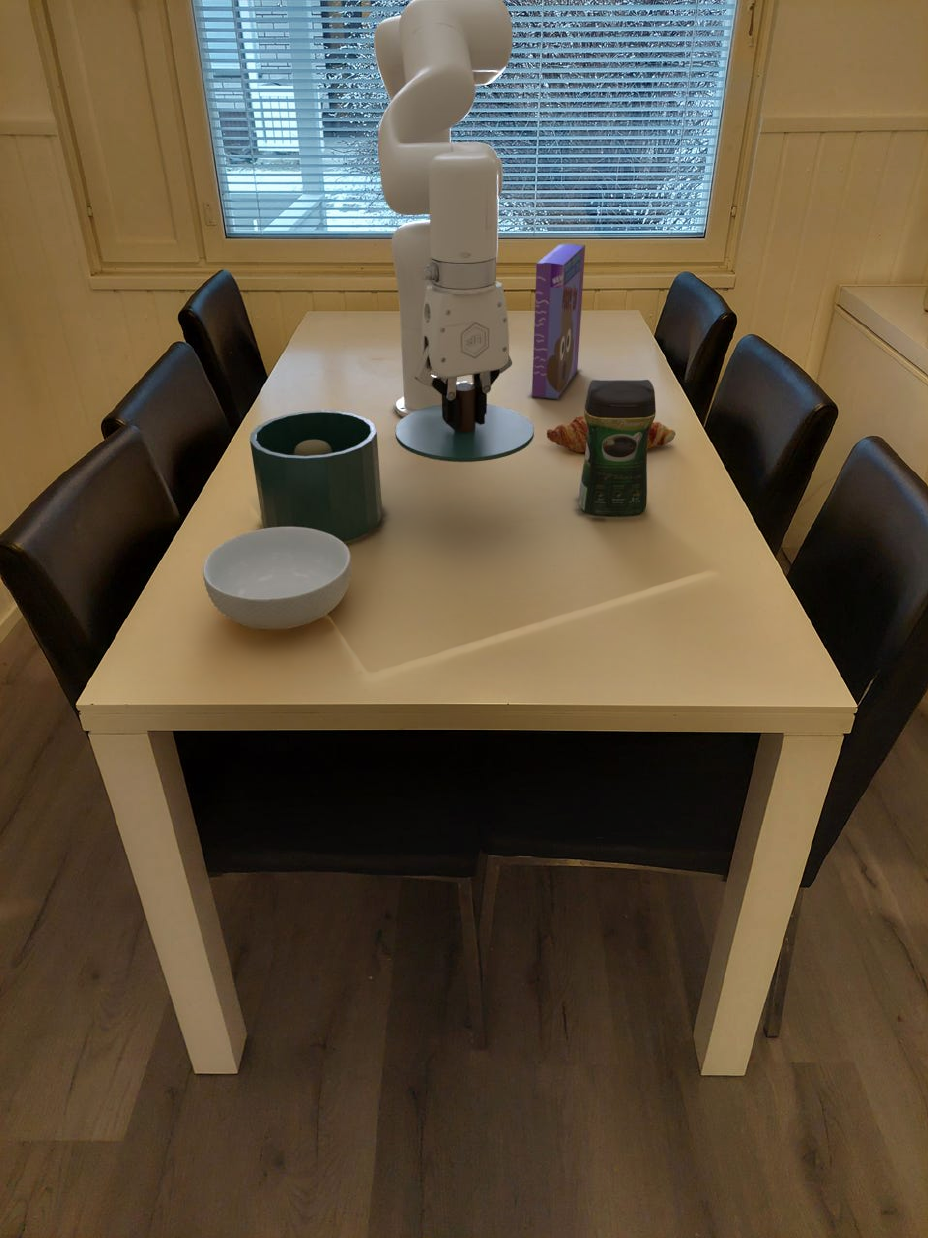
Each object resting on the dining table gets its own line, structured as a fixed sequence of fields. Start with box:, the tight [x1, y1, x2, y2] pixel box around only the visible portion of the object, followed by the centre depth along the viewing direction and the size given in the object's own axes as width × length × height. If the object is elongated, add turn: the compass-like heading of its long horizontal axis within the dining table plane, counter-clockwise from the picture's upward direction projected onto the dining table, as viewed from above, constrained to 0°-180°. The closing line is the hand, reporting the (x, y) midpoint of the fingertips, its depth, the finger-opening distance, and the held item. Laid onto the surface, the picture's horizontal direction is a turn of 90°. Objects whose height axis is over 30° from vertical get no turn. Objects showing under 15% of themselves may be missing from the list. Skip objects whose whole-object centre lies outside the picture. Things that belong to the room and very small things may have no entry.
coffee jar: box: [578, 379, 657, 518], centre depth 122 cm, size 10×8×19 cm
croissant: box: [546, 415, 677, 453], centre depth 144 cm, size 21×10×8 cm, turn 94°
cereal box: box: [531, 242, 586, 401], centre depth 165 cm, size 17×5×24 cm, turn 161°
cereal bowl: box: [202, 527, 352, 630], centre depth 103 cm, size 17×17×7 cm
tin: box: [249, 409, 383, 543], centre depth 121 cm, size 17×17×13 cm
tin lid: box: [394, 382, 535, 463], centre depth 111 cm, size 18×18×7 cm
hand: (464, 422), depth 112 cm, fingers closed on tin lid, 2 cm apart
